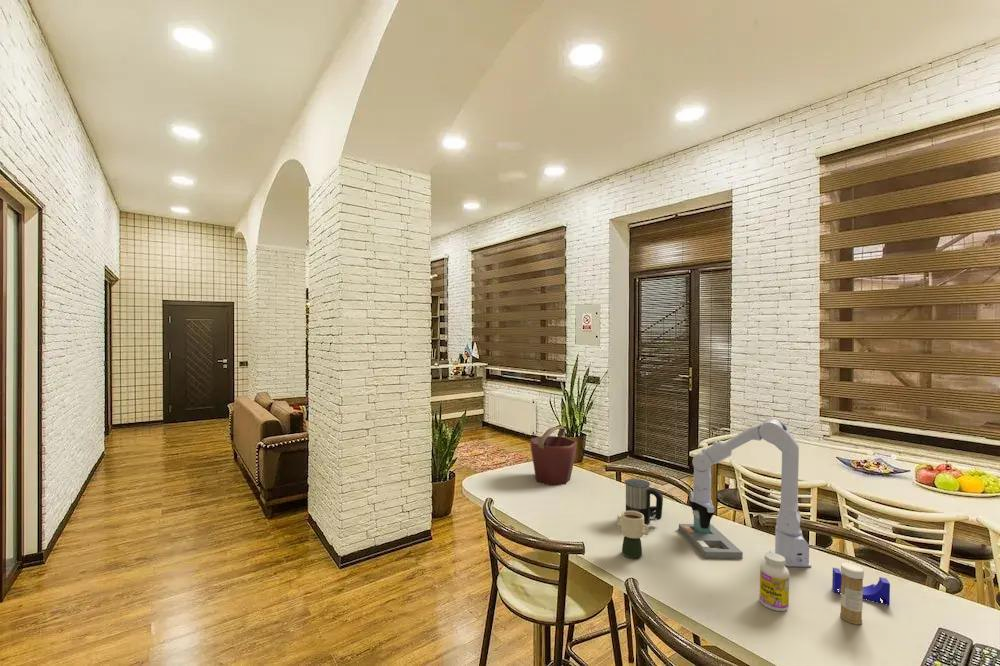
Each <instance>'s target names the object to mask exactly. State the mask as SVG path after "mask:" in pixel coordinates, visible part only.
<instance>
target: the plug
mask: <svg viewBox="0 0 1000 666" xmlns="http://www.w3.org/2000/svg"><path fill="white" fill-rule="evenodd" d="M693 514H694V515H693ZM692 515H693V524H694V531H695V533H696V534H710V524H711V522H710V523H709V527H708V529H703V528H701V523H700V516H699V512H698V510H692Z"/></svg>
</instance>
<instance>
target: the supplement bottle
mask: <svg viewBox="0 0 1000 666" xmlns="http://www.w3.org/2000/svg"><path fill="white" fill-rule="evenodd" d="M764 560H765V561H763V562H762V563H760V568H759V569H760V571H759V594H758V595H759V598H758V599H759V602H760V603H761V604H762V605H763V606H764V607H766V608H767V609H770V610H773V611H776V612H784V611H787V610H788V608H789V605H790V603H789V601H790V599H789V598H790V571H789V569H788V568H787V566H786V565H785V558H784V557H783V556H781V555H779V554H776V553H770V552H766V553H765V554H764Z"/></svg>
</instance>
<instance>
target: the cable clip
mask: <svg viewBox="0 0 1000 666" xmlns="http://www.w3.org/2000/svg"><path fill="white" fill-rule="evenodd" d="M878 578H879V580H878V581H877V583H876V584H874V583H872V584H870V585H867V586H863V599H865V600H864V601H867V600H870V601H869V602H871V601H874V602H873V603H876V602H878V603H877V604H880V603H881V601H880V598H881V599H882V600H883V603H884V604H887V605H886V606H889V605H890V601H891V600H890V599H891V597H890V596H891V592H890V591H891V583H890V582H889V580H888V579H887V578H886V577H881V576H879V577H878ZM831 580H832V585H831V588H832V591H833V590H834V591H833V593H834V594H836V593H838V594H837V595H840V593H841V584H842V573H841V568H838V567H832V579H831ZM837 589H839V590H837ZM838 591H839V592H838ZM866 599H867V600H866ZM884 604H883V605H884ZM890 606H891V605H890Z"/></svg>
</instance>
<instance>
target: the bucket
mask: <svg viewBox="0 0 1000 666" xmlns="http://www.w3.org/2000/svg"><path fill="white" fill-rule="evenodd" d="M566 429H567V428H566V427H562V426H553V427H550V428H548V429H547V430H546V431H545V432H544V433H543V434H542V436H537V437H532V438H530V439H529V440H530V441H529V443H530V444H529V445H530V451H531V456H532V464H533V469H534V475H535V479H536V483H539V482H540V483H539V484H543V483H544V485H547V484H548V486H551V485H552V486H560V485H559V484H565V485H567V484H568V483H569V482H570V480H571V478H572V473H573V468H574V463H575V459H576V453H577V448H578V442H577V441H576V440H574V439H571V438H569V437H566V434H565V431H566ZM557 430H558V431H557ZM554 431H557V432H558V434H557V436H553V435H551V434H553V432H554ZM568 481H569V482H568ZM567 482H568V483H567ZM566 483H567V484H566Z"/></svg>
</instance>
